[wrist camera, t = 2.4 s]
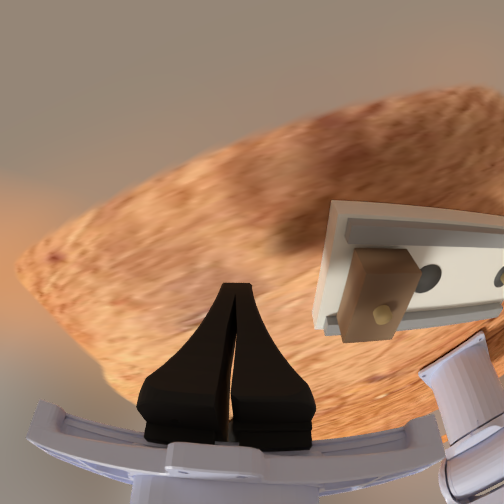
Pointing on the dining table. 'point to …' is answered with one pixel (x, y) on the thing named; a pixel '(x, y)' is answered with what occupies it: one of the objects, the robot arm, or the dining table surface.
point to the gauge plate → (418, 260)
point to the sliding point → (376, 293)
